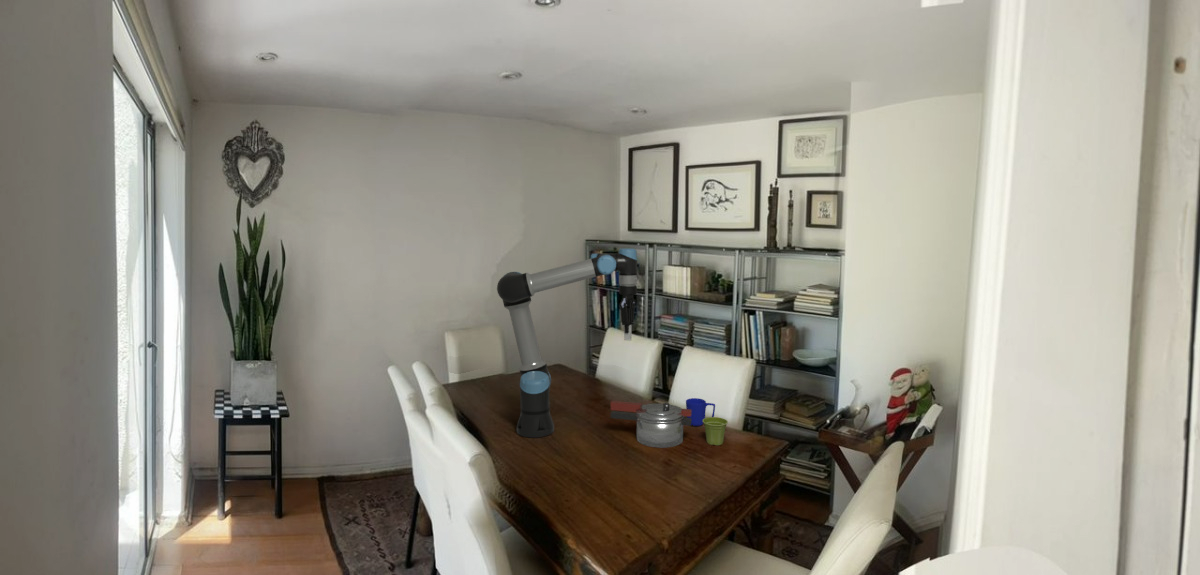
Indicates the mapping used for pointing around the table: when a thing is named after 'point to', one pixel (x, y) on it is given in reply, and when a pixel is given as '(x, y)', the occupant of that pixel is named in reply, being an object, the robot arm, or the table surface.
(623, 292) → the robot arm
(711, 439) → the plant pot
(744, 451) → the table surface
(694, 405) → the mug
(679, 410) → the lid
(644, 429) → the pot
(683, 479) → the table surface
